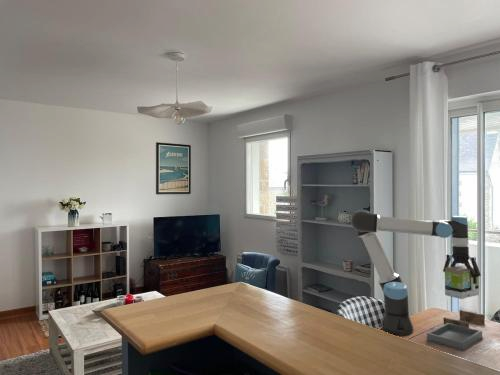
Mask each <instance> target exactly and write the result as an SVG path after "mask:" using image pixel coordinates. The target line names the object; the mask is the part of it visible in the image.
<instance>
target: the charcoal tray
mask: <svg viewBox="0 0 500 375" xmlns="http://www.w3.org/2000/svg"><path fill="white" fill-rule="evenodd" d="M482 339H483V331H482V330H479V329H475V328H471V327H469V328H467V327H463V326H459V325H455V324H451V323H446V324H444V323H443V325H441V326H438V327H437V328H435V329H432V330H431V331H429V332H426V341H428V342H431V343H435V344H438V345H440V346H445V347H448V348H451V349H456V350H458V351H461V352H464V351H465V350H466V349H468V348H470V347H471V346H473V345H474V344H476V343H478V342H479V341H481V340H482Z"/></svg>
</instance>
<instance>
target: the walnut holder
mask: <svg viewBox="0 0 500 375" xmlns="http://www.w3.org/2000/svg"><path fill="white" fill-rule="evenodd" d="M458 313H459V319H454V318H450V317H446V316H444V317H442V319H443V325H444V324H446V323H451V324H455V325H459V326H463V327H467V328H470V323H474V322H475V323H474V324H479V325H485V324H486V322H485V314H483V313H478V312H473V311H468V310H465V309H464V310H463V309H459V312H458Z"/></svg>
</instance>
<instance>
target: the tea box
mask: <svg viewBox="0 0 500 375" xmlns="http://www.w3.org/2000/svg"><path fill="white" fill-rule="evenodd" d="M471 267H472V268H473V266H471ZM473 270H474V268H473ZM474 272H475V271H474ZM471 277H472V275H471V273H470V269H467V267H466V266H465V265H464V264H458V265H457V264H456V265H455V266H453V267H450V266H449V267H446V268H445V272H444V295H445V296H446V297H451V298H455V299H461V300H464V299H468V298H472V297H476V296H479V295H480V288H479V287H480V285H479V284H480V283H479V280H480V276H479V277H477V283H476V284H475V290H471Z"/></svg>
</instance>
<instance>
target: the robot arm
mask: <svg viewBox="0 0 500 375" xmlns="http://www.w3.org/2000/svg"><path fill="white" fill-rule="evenodd" d="M468 222H469V221H468V217H467V216H465V215H464V216H463V215H453V216H451V218H450V219H429V220H424V219H423V220H422V219H413V218H412V219H411V218H401V217H390V216H380V214H378V213H377V214H376V213H372V212H371V211H369V210H368V209H358V210H356V211H354V212H353V214H352V215H351V218H350V225H351V226H352V228H353V229H354V230H355V232H356V235H357V237H358V238H361V240H362V241H363V243H364V245H365V249H366V250H367V252H368V255H369V257H370V259H371V262H372V264H373V265H374V268H375V270H376V272H377V274H378V278H379V279H378V284H379V286H380V288H381V291H382V294H383V302H384V315H383V319H382V322H381V330H382V331H383V330H384V331H383V332H385V331H386V332H385V333H387V332H389V333H388V334H390V333H391V334H390V335H394V336H408V335H412V334H413V333H414V325H413V323H412V321H411V317H410V313H409V312H410V310H409V289H408V286H407V285H406V284H405V283H403V281H402V279H401V276H400V275H399V273H396V272H395V270H394V268H393V265H392V263H391V261H390V259H389V257H388V255H387V252H386V250H385V248H384V246H383V244H382V241H381V239H380V237H379V235H378V232H380V231H381V232H389V233H401V234H409V235H410V234H411V235H419V236H421V235H422V236H428V237H429V236H431V237H440V238H444V239H447V238H449V237H450V236H451V245H452V247H451V248H452V254H450V253H448V254H446V259H445V263H444V265H443V266H444V267H443V270H442V272H443V273H445V268H446V267H453V266H457V264H460V265H465V266H466V267H467V269H470V273H471V275H472V277H471V290H475V284H476V283H477V277H479V278H480V277H481V276H482V274H481V272H480V269H479V266H478V263H477V259H476V258H477V257H476V256H470V255H469V254H470V251H469V249H470V248H469V223H468ZM452 259H453V261H452V262H451V260H452ZM469 260H470V262H471V263H470V262H469ZM472 267H473V268H474V270H473V268H472ZM474 271H475V272H474ZM395 334H396V335H395Z"/></svg>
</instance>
